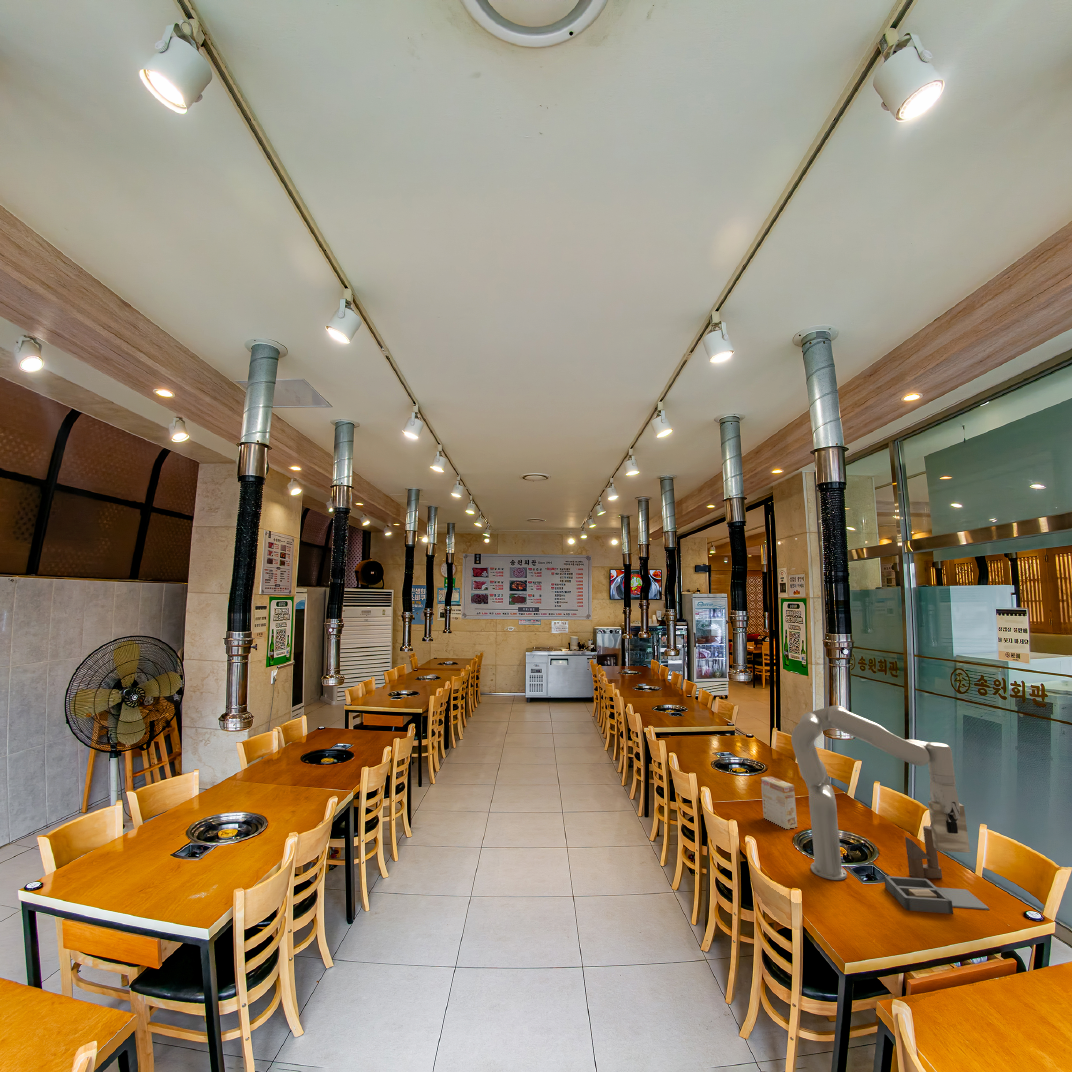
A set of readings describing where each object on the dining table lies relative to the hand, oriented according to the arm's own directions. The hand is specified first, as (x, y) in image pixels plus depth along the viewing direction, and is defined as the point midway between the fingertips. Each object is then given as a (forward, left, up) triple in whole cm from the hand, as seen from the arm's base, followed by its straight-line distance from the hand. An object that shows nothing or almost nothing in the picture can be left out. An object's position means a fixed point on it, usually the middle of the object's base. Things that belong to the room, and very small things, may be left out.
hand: (949, 830), depth 187 cm
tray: (+3, -15, -23) cm, 28 cm away
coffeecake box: (-60, -44, -23) cm, 78 cm away
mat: (0, 0, -23) cm, 23 cm away
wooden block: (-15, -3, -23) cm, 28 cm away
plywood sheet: (0, 0, -7) cm, 7 cm away
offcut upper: (+7, -15, -21) cm, 27 cm away
